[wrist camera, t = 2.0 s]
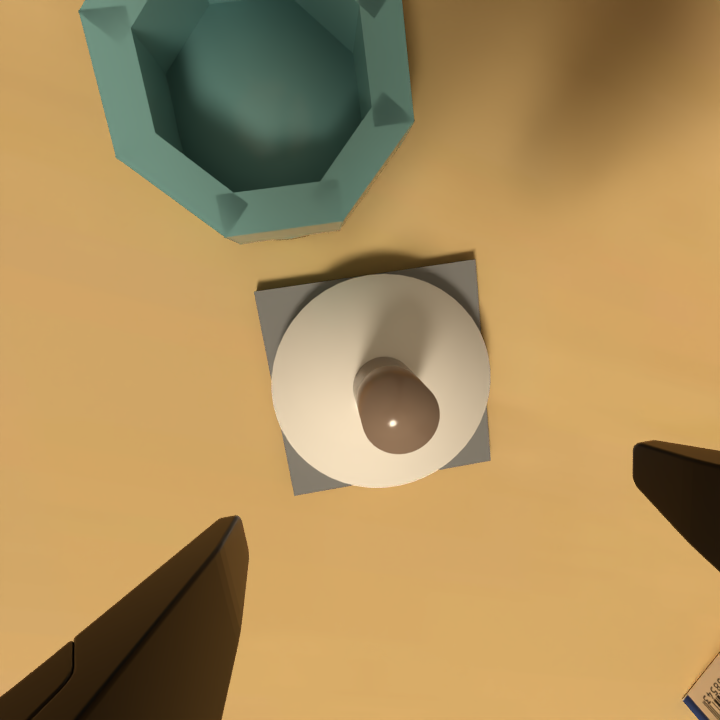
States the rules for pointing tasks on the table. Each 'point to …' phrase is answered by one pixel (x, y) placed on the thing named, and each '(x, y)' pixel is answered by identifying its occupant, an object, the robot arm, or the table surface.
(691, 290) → the table surface
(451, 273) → the mat
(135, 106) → the bowl
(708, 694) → the beverage box
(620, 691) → the table surface
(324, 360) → the lid
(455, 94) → the table surface
